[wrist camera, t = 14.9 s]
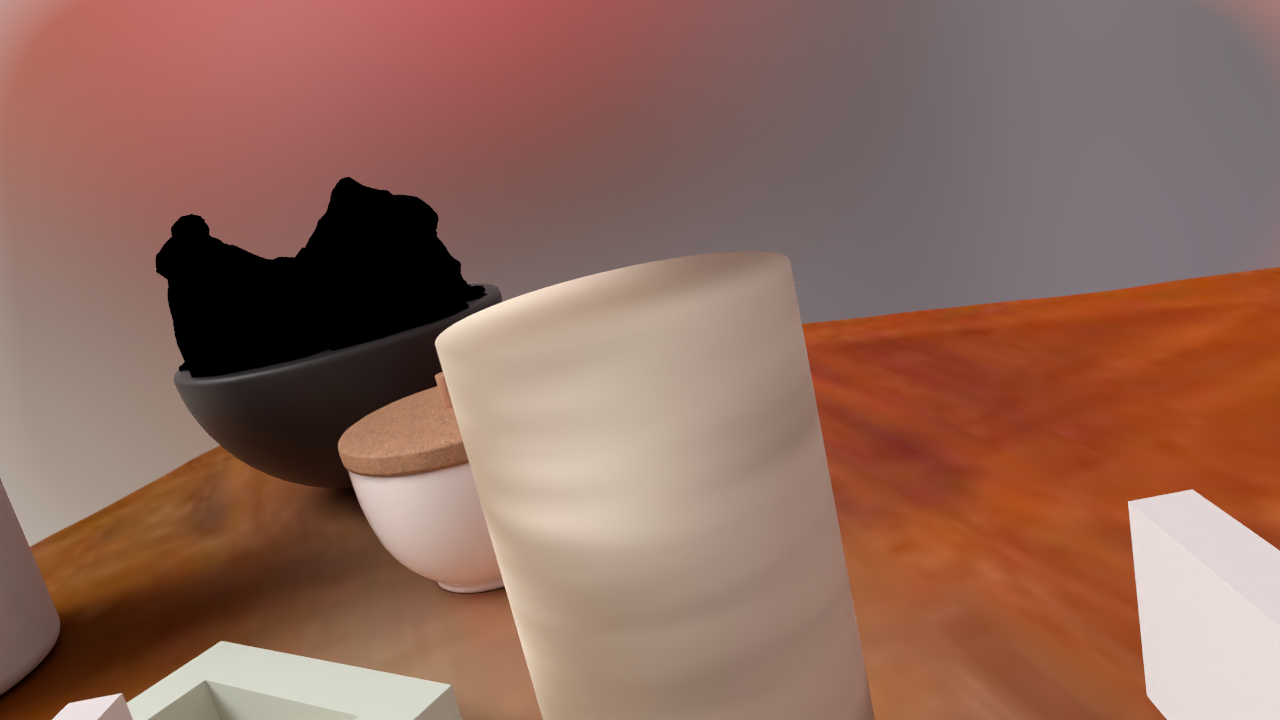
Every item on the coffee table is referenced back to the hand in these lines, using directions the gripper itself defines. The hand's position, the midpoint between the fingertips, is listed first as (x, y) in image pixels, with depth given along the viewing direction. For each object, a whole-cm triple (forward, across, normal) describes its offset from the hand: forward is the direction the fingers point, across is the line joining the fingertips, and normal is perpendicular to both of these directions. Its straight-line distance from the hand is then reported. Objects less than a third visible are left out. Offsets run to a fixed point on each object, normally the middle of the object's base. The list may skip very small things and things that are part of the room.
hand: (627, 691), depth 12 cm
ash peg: (+5, 0, -11) cm, 12 cm away
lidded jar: (+29, -10, -11) cm, 33 cm away
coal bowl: (+45, -20, -11) cm, 51 cm away
